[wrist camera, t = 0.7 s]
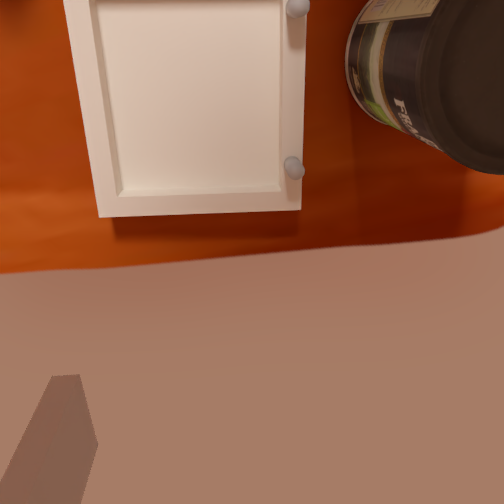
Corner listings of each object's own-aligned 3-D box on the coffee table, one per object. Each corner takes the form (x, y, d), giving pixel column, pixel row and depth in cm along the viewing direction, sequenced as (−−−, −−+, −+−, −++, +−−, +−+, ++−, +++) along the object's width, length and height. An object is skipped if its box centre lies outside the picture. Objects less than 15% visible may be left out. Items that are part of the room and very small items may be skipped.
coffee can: (428, 150, 37) (540, 209, 24) (317, 87, 34) (376, 115, 21) (513, 21, 33) (698, 9, 20) (397, -59, 31) (523, -131, 18)
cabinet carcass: (69, -47, 30) (41, -63, 25) (300, -50, 30) (314, -66, 26) (108, 204, 37) (92, 227, 32) (295, 197, 38) (305, 219, 33)
